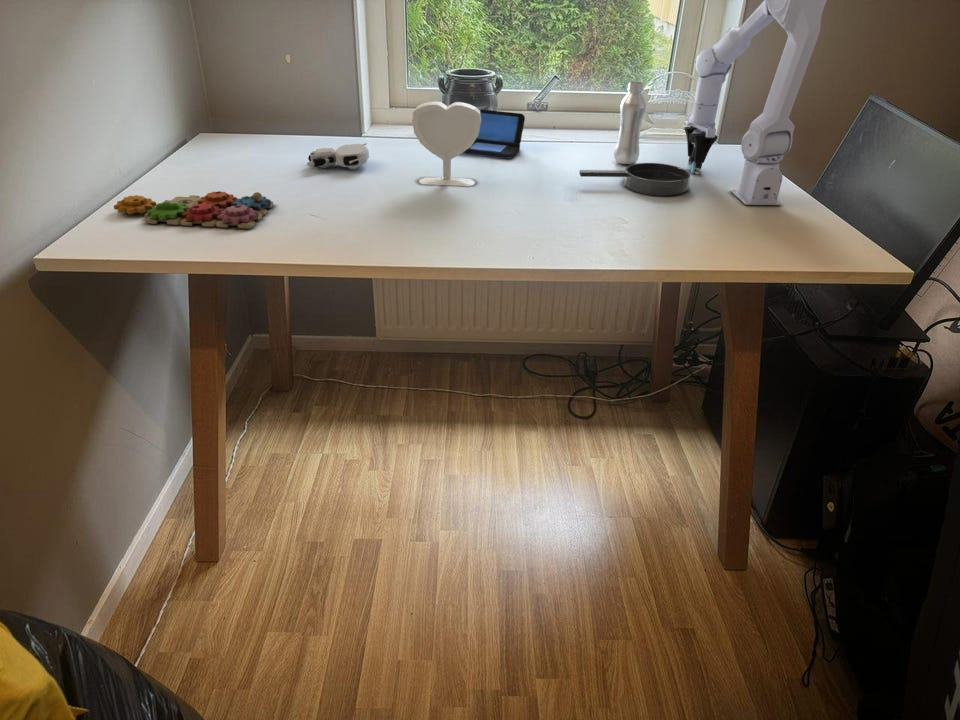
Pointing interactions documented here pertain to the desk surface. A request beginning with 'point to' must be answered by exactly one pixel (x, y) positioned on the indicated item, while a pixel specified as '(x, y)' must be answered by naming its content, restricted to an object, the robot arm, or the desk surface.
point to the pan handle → (603, 173)
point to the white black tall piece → (691, 164)
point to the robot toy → (340, 156)
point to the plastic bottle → (630, 124)
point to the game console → (498, 134)
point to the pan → (657, 179)
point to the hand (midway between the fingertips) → (695, 159)
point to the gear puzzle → (200, 209)
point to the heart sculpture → (446, 134)
